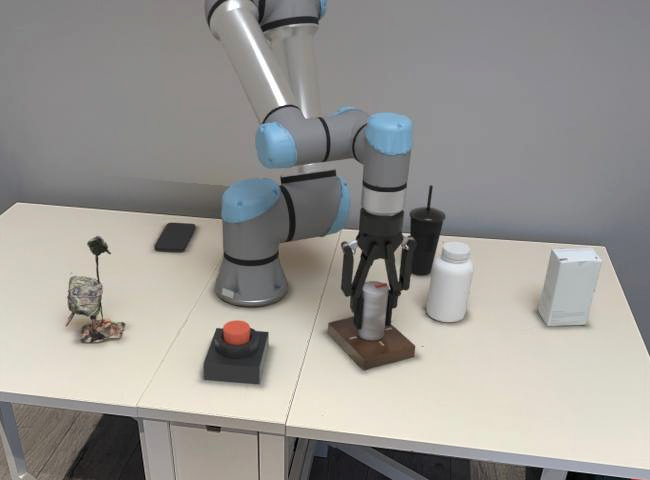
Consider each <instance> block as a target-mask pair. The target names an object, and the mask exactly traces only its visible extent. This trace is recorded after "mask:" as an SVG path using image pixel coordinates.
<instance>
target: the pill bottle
mask: <svg viewBox="0 0 650 480" xmlns="http://www.w3.org/2000/svg"><path fill="white" fill-rule="evenodd" d="M470 254H471V247H470V246H469V245H468V244H466V243H464V242H459V241H448V242H446V243H444V244H443V245H442V248H441V254H440V255H438V256H437V257H436V258H434V261H433V266H432V270H431V273H430V274H431V275H430V280H429V287H428V294H427V300H426V314H427V315H428V316H429V317H430V318H431V319H433V320H435V321H438V322H442V323H458V322H459V321H462V320H463V319H464V318H465V316H466V313H467V308H468V304H469V303H468V302H469V297H470V292H471V286H472V281H473V275H474V270H475V268H474V267H475V265H474V263H473V261H472V260H471V258H470Z"/></svg>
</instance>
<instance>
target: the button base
mask: <svg viewBox="0 0 650 480" xmlns="http://www.w3.org/2000/svg"><path fill="white" fill-rule="evenodd" d="M269 333H270V332H269V331H262V330H261V331H260V330H256V329H254V328H252V327H250V340H249V341H248V342H247V343H244V344H239V345H235V344H229V343H227V342H225V341H224V336H223V327H216V328H215V331H214V333H213V337H212V338H211V342H210V344H209V347H208V349H207V352H206V355H205V358H204V361H203V379H204V381H209V382H210V381H211V382H222V383H234V384H235V383H236V384H246V385H249V384H250V385H260V383H261V381H262V378H263V377H262V376H263V372H264V369H265V364H266V360H267V356H268V353H269V349H270V347H269V345H270V343H269V342H270V339H269V338H270V337H269Z"/></svg>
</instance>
